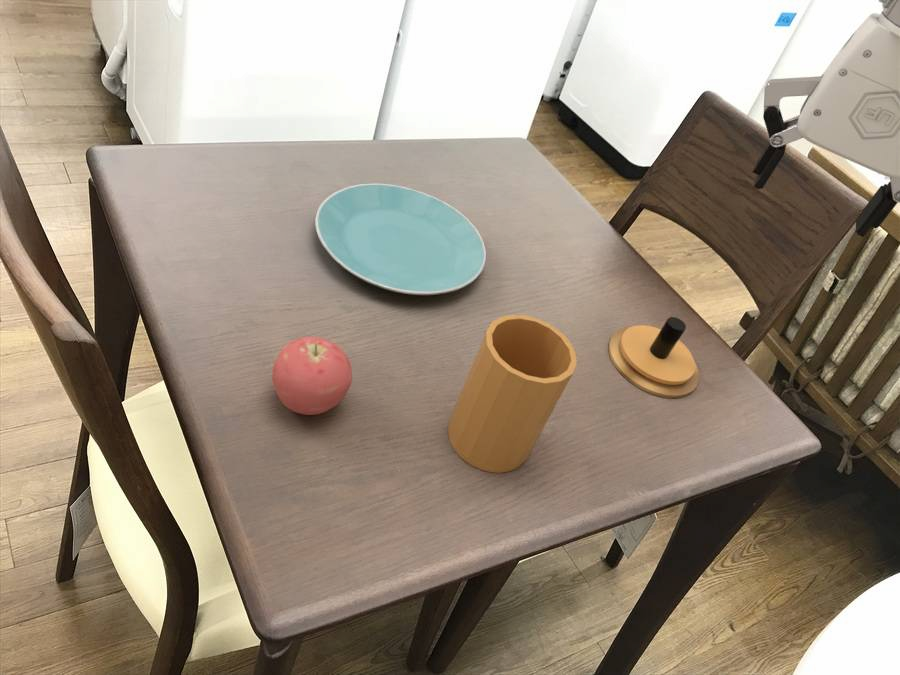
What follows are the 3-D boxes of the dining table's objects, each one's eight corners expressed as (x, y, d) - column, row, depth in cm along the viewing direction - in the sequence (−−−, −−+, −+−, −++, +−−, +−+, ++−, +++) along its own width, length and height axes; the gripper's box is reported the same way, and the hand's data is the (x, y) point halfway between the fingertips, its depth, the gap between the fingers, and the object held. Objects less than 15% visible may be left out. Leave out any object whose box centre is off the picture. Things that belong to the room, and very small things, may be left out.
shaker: (544, 447, 81) (594, 359, 72) (491, 487, 75) (538, 396, 66) (485, 394, 84) (525, 303, 76) (430, 428, 79) (467, 334, 70)
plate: (491, 320, 94) (498, 303, 92) (308, 294, 88) (312, 275, 86) (470, 215, 110) (475, 198, 108) (314, 188, 104) (317, 170, 102)
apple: (252, 397, 75) (260, 339, 70) (305, 364, 80) (317, 308, 75) (305, 443, 73) (318, 387, 68) (357, 406, 78) (373, 351, 73)
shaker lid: (704, 368, 98) (728, 334, 94) (666, 399, 91) (691, 364, 87) (643, 322, 101) (664, 287, 97) (603, 349, 95) (624, 312, 91)
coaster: (713, 374, 98) (715, 371, 98) (667, 412, 90) (669, 410, 90) (639, 317, 103) (641, 314, 102) (590, 350, 95) (591, 347, 95)
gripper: (827, -15, 57) (713, 181, 68) (1059, 81, 54) (901, 267, 65) (830, -33, 62) (724, 150, 73) (1040, 53, 60) (898, 229, 71)
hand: (808, 205), depth 69 cm, fingers open, 9 cm apart
